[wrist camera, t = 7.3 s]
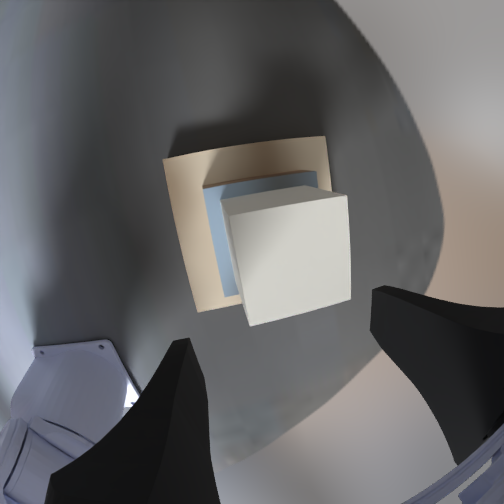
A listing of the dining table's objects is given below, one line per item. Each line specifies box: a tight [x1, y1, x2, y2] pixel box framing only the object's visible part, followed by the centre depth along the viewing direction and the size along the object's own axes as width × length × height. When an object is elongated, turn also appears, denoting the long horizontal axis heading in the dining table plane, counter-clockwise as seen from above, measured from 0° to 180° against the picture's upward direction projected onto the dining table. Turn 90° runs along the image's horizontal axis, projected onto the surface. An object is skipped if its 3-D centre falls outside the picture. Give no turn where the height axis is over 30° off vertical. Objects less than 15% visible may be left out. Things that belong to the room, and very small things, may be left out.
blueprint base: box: [163, 136, 332, 312], centre depth 17 cm, size 10×10×4 cm
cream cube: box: [220, 185, 351, 326], centre depth 12 cm, size 4×4×4 cm
